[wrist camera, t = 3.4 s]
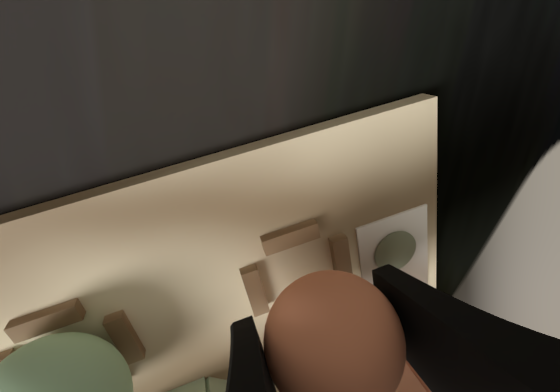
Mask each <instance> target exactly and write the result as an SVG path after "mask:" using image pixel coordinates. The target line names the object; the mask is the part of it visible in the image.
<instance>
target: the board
mask: <svg viewBox="0 0 560 392" xmlns="http://www.w3.org/2000/svg"><path fill="white" fill-rule="evenodd" d="M437 99H438V96H433V95H428V94H423V93H422V94H418V95H415V96H411V97H408V98H405V99H401V100H398V101H394V102H391V103H387V104H384V105H380V106H377V107H373V108H370V109H366V110H363V111H359V112H356V113H353V114H349V115H346V116H342V117H339V118H335V119H332V120H328V121H325V122H321V123H318V124H314V125H311V126H307V127H304V128H301V129H297V130H294V131H290V132H287V133H283V134H280V135H276V136H273V137H269V138H266V139H262V140H259V141H255V142H252V143H249V144H245V145H242V146H238V147H235V148H231V149H228V150H224V151H221V152H217V153H214V154H210V155H207V156H203V157H200V158H196V159H193V160H190V161H186V162H183V163H179V164H176V165H172V166H169V167H165V168H162V169H158V170H155V171H151V172H148V173H144V174H141V175H138V176H134V177H131V178H127V179H124V180H120V181H117V182H113V183H110V184H106V185H103V186H99V187H96V188H92V189H89V190H86V191H82V192H79V193H75V194H72V195H68V196H65V197H61V198H58V199H54V200H51V201H47V202H44V203H40V204H37V205H34V206H30V207H27V208H23V209H20V210H16V211H13V212H9V213H6V214H2V215H0V362H1V361H2V360H3V359H5V358H6V357H7V356H8V355H10V354H11V353H13V352H14V351H16V350H17V349H19V348H20V347H22V346H24V345H26V344H27V343H29V342H32V341H34V340H37V339H39V338H41V337H45V336H48V335H52V334H57V333H64V332H82V333H88V334H92V335H95V336H97V337H100V338H102V339H104V340H106V341H108V342H109V343H111V344H112V345H113V346H114V347H115V348H116V349H117V350H118V351H119V352H120V353H121V354H122V356H123V357H124V359H125V360H126V362H127V364H128V366H129V369H130V372H131V376H132V381H133V392H167V391H170V390H173V389H175V388H178V387H180V386H183V385H185V384H188V383H190V382H193V381H195V380H198V379H200V378H203V377H204V378H205V380H206V379H207V378H208V376H209V377H214V378H219V379H224V380H227V376H228V369H229V358H230V342H231V333H230V326H231V325H232V323H233V322H235V321H238V320H241V319H243V318H246V317H249V316H251V315H252V317H253V320H254V323H255V326H256V329H257V332H258V335H259V338H260V341H261V344H262V347H263V350H264V344H263V338H264V329H265V324H266V320H267V317H268V314H269V311H270V309H271V307H272V305H273V304H274V302H275V300H276V299H277V297H278V296H279V295H280V293H281V292H282V291H283V290H284V289H285V288H286V287H287V286H289V285H290V284H291V283H292V282H294V281H295V280H297V279H299V278H300V277H302V276H305V275H307V274H310V273H313V272H317V271H322V270H339V271H344V272H348V273H352V274H354V275H357V276H359V277H361V278H363V279H365V280H367V281H368V282H370V283H371V284H373V277H372V270H373V269H376V268H379V267H381V266H384V265H387V264H390V265H392V266H394V267H396V268H398V269H400V270H402V271H404V272H405V273H407V274H409V275H411V276H413V277H415V278H417V279H419V280H420V281H422V282H424V283H426V284H428V285H430V286H432V287H434V288H436V237H437ZM275 388H276V386H275ZM276 391H277V392H279V390H278V389H277V388H276Z"/></svg>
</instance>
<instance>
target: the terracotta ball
mask: <svg viewBox="0 0 560 392" xmlns="http://www.w3.org/2000/svg"><path fill="white" fill-rule="evenodd" d="M263 344H264V355H265V359H266V363H267V367H268V370H269V374H270V376H271V378H272V380H273V382H274V384H275V386H276V388H277V389H278V390H279V392H395V391H396V390H397V388H398V386H399V384H400V381H401V378H402V376H403V373H404V368H405V362H406V342H405V336H404V331H403V328H402V325H401V322H400V319H399V317H398V315H397V313H396V311H395V309H394V307H393V306H392V304H391V303H390V301H389V300H388V299H387V298H386V296H385V295H384V294H383V293H382V292H381V291H380V290H379V289H378V288H376V287H375V286H374V285H373V284H371V283H370V282H368V281H367V280H365V279H363V278H361V277H359V276H357V275H354V274H352V273H348V272H344V271H339V270H322V271H317V272H313V273H310V274H307V275H305V276H302V277H300V278H299V279H297V280H295V281H294V282H292V283H291V284H290V285H289V286H287V287H286V288H285V289H284V290H283V291H282V292H281V293H280V295H279V296H278V297H277V299H276V300H275V302H274V304H273V305H272V307H271V309H270V311H269V314H268V317H267V320H266V324H265V329H264V338H263Z"/></svg>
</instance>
